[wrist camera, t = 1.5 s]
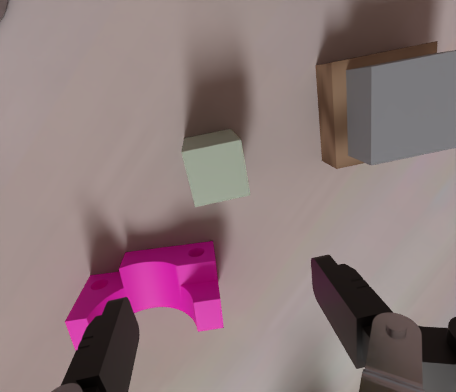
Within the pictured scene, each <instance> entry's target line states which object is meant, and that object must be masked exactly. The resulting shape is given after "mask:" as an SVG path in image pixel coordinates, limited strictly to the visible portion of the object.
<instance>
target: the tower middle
mask: <svg viewBox="0 0 456 392" xmlns="http://www.w3.org/2000/svg"><path fill="white" fill-rule="evenodd" d="M346 91H347V131H348V156H350V157H352V158H355V159H357V160H359V161H362V162H364V163H367V164H369V165H376V164H380V163H385V162H390V161H395V160H400V159H404V158H409V157H414V156H419V155H424V154H428V153H433V152H438V151H443V150H448V149H452V148H456V50H454V51H447V52H441V53H434V54H428V55H423V56H417V57H412V58H407V59H402V60H397V61H391V62H386V63H381V64H376V65H370V66H365V67H360V68H355V69H350V70H346Z"/></svg>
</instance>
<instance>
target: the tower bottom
mask: <svg viewBox="0 0 456 392" xmlns="http://www.w3.org/2000/svg"><path fill="white" fill-rule="evenodd" d="M434 53H437V41H436V42H431V43H426V44H421V45H416V46H410V47H405V48H400V49H396V50H391V51H386V52H381V53H376V54H371V55H366V56H361V57H356V58H351V59H346V60H341V61H336V62H331V63H326V64H321V65H316V79H317V93H318V108H319V123H320V137H321V152H322V161H323V162H325V163H327V164H329V165H331V166H332V167H334V168H336V169H338V168H343V167H348V166H352V165H357V164H362V163H364V162H362V161H359V160H357V159H355V158H352V157H350V156H348V131H347V91H346V70H350V69H355V68H360V67H365V66H370V65H376V64H381V63H386V62H391V61H397V60H402V59H407V58H412V57H417V56H423V55H428V54H434Z"/></svg>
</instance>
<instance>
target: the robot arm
mask: <svg viewBox="0 0 456 392" xmlns="http://www.w3.org/2000/svg"><path fill="white" fill-rule="evenodd" d="M7 2H8V0H0V22H1V20H2V18H3V16H4V14H5V11H6V7H7ZM311 269H312V284H313V291H314V294H315V297H316V300H317V302H318V303H319V305H320V307H321V309H322V310H323V312H324V314H325V316H326V317H327V319H328V321H329V322H330V324H331V326H332V328H333V329H334V331H335V333H336V334H337V336H338V338H339V340H340V341H341V343H342V345H343V346H344V348H345V350H346V352H347V353H348V355H349V357H350V359H351V360H352V362H353V364H354V365H355V367H356V369H358V368H363V367H365V369H363V372H362V377H361V383H360V389H359V392H456V317H454V318H452V319H451V320H450V322H449V325H448V328H436V327H422V326H418V325H417V324H416V323H415V322H414V321H412V320H411V319H409V318H408V317H406V316H403V315H401V314H397V313H393V312H392V311H391V309H390V308H389V307H388V306H387V305H386V304H385V303H384V302H383V300H382V299H381V298H380V297H379V296H378V295H377V294H376V293H375V291H374V290H373V289H372V288H371V287H369V285H368V284H367V282H366V281H365V280H363V278H362V277H361V276H360V275H359V273H358V272H357V271H356V270H355V269H353V268H351V267H349V266H348V265H346V264H340V265H338V264H337V263H336V262H335V261H334V260H333V258H332V257H331V256H330V255H324V256H320V257H315V258H312V259H311ZM138 342H139V326H138V323H137V320H136V317H135V315H134V312H133V309H132V307H131V304H130V301H129V299H128V298H127V297H123V298H119V299H114V300H109V301H108V302H107V303H106V305H105V308H104V310H103V313H102V315H99V316H96V317H95V318H94V319H93V320H92V321H91V323H90V324H89V325H88V326H87V327H86V330H85V332H84V334H83V336H82V340H81V341H80V343H79V346H78V350H76V352H75V355H74V357H73V359H72V361H71V364H70V366H69V368H68V370H67V373H66V375H65V377H64V379H63V382H62V384H61V386H60V387H58V388H56V389H55V390H53V391H52V392H128V389H129V384H130V380H131V375H132V370H133V366H134V361H135V356H136V351H137V347H138Z"/></svg>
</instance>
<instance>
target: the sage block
mask: <svg viewBox="0 0 456 392" xmlns="http://www.w3.org/2000/svg"><path fill="white" fill-rule="evenodd" d="M181 153H182V157H183V161H184V165H185V169H186V173H187V177H188V181H189V185H190V189H191V193H192V197H193V201H194V205H195V207H198V206H203V205H208V204H212V203H217V202H221V201H226V200H231V199H235V198H240V197H245V196H249V195H250V190H249V184H248V178H247V172H246V166H245V160H244V154H243V148H242V142H241V139H240V138H239V137H238V136H237V135H236V134H235V133H234V132H233V131H232V129H227V130H222V131H217V132H213V133H208V134H203V135H198V136H193V137H188V138H184V141H183V146H182V152H181Z"/></svg>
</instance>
